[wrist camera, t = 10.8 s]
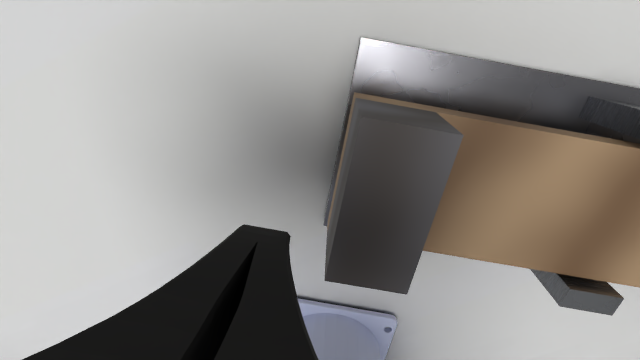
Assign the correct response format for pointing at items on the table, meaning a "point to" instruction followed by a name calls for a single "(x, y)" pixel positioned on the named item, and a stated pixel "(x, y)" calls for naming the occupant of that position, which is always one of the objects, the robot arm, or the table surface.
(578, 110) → the stand
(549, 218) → the beam
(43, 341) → the table surface
